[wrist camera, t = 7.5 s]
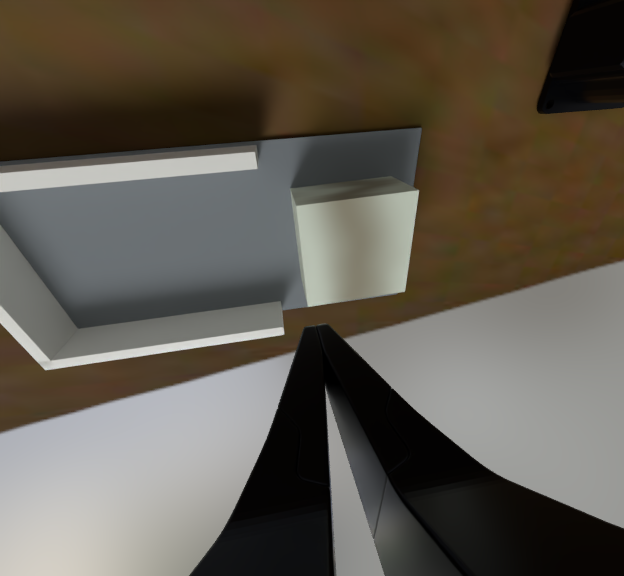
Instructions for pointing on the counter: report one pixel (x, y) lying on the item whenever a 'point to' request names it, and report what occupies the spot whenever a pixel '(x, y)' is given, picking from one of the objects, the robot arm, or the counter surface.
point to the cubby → (129, 335)
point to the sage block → (354, 238)
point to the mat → (189, 228)
